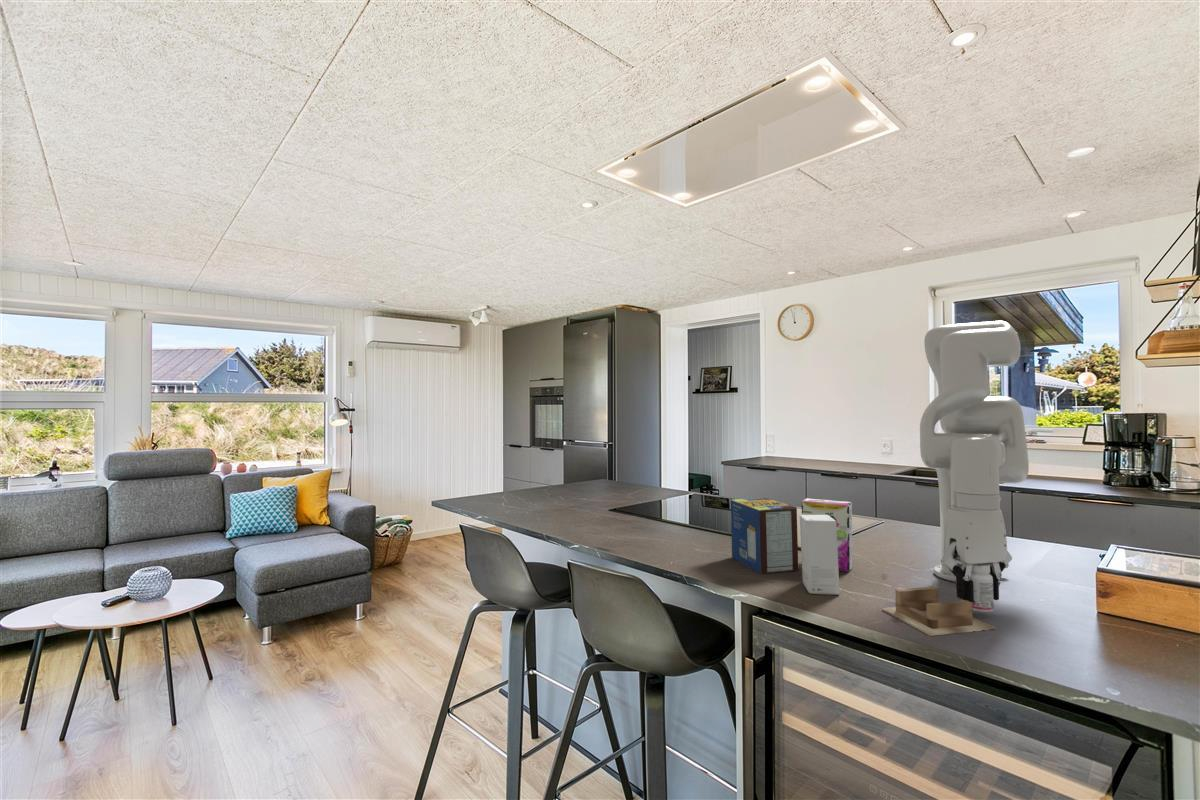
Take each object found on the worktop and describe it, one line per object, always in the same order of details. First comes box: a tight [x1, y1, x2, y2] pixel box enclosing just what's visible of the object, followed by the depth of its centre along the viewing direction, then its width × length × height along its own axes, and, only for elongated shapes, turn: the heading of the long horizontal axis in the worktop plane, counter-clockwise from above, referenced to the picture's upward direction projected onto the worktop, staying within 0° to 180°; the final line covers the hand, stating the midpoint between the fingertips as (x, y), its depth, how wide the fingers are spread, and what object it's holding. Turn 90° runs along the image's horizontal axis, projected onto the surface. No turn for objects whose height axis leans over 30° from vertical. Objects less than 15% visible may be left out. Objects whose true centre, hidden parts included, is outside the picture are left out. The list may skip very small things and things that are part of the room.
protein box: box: [730, 497, 799, 575], centre depth 136 cm, size 10×15×16 cm
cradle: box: [881, 586, 996, 637], centre depth 99 cm, size 13×12×4 cm
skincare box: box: [799, 514, 840, 596], centre depth 117 cm, size 8×7×16 cm
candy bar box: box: [801, 497, 854, 573], centre depth 133 cm, size 11×5×16 cm, turn 58°
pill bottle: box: [962, 563, 995, 613], centre depth 101 cm, size 5×5×8 cm
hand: (977, 597), depth 101 cm, fingers closed on pill bottle, 4 cm apart
